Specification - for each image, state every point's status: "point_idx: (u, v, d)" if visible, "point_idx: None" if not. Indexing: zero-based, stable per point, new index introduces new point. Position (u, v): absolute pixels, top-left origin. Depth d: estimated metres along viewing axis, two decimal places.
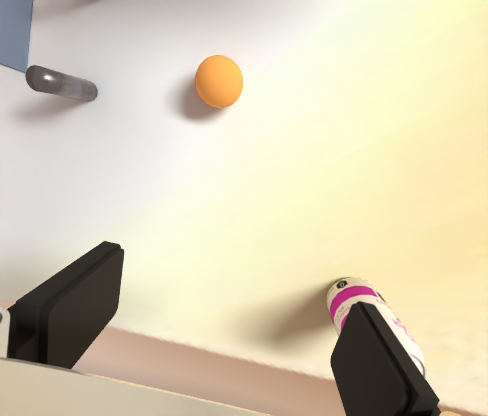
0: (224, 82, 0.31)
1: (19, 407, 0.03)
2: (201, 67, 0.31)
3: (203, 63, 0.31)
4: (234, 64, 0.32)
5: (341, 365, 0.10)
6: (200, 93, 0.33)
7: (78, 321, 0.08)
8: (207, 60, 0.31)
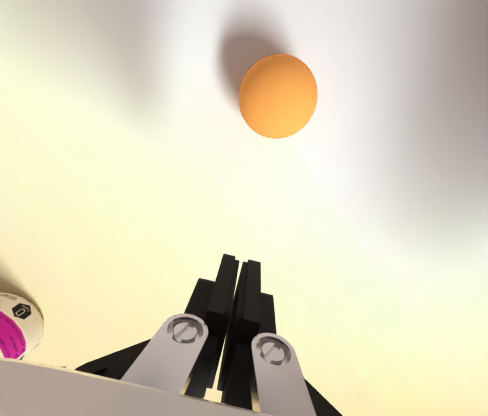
0: (274, 110, 0.18)
1: (19, 407, 0.03)
2: (296, 64, 0.18)
3: (303, 67, 0.18)
4: (304, 123, 0.20)
5: (230, 316, 0.11)
6: (256, 64, 0.19)
7: None
8: (308, 74, 0.18)
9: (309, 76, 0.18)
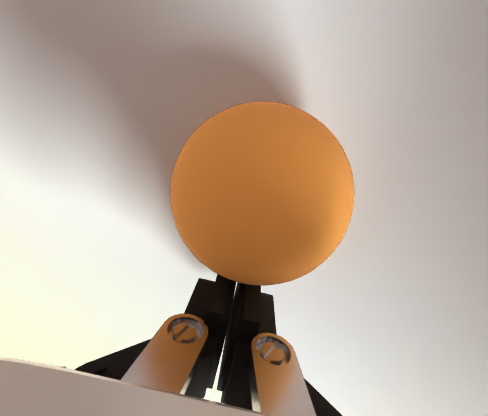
0: (270, 125, 0.07)
1: (19, 407, 0.03)
2: None
3: None
4: (344, 204, 0.07)
5: (230, 316, 0.11)
6: None
7: None
8: None
9: None
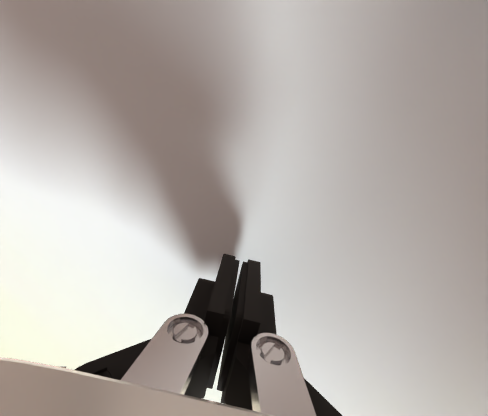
0: None
1: (19, 407, 0.03)
2: None
3: None
4: None
5: (230, 316, 0.11)
6: None
7: None
8: None
9: None
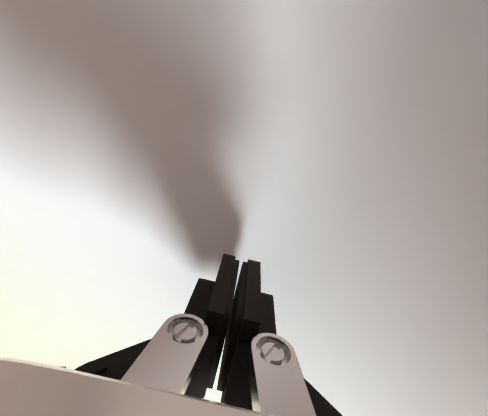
0: None
1: (19, 407, 0.03)
2: None
3: None
4: None
5: (230, 316, 0.11)
6: None
7: None
8: None
9: None
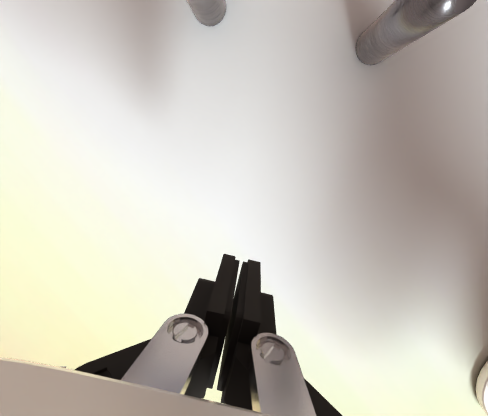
0: None
1: (19, 407, 0.03)
2: None
3: None
4: None
5: (230, 316, 0.11)
6: None
7: None
8: None
9: None
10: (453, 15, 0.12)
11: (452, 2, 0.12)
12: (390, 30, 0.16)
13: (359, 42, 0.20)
